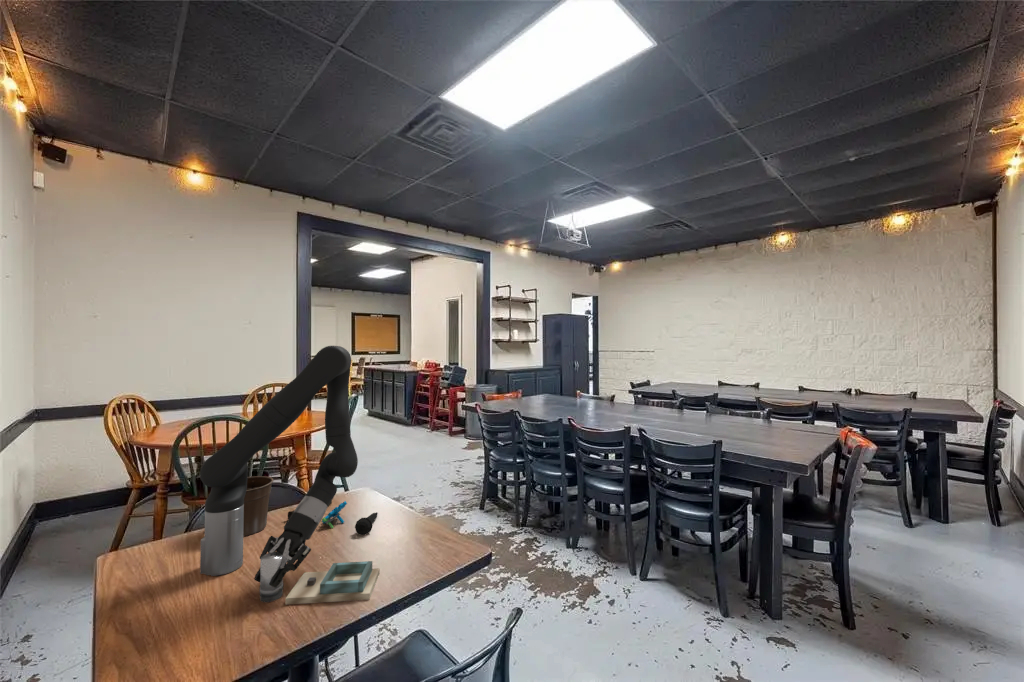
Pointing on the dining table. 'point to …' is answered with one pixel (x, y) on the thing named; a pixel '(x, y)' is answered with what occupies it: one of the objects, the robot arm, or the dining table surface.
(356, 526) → the microphone
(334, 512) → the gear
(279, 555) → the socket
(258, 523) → the plant pot
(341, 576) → the beige board with frame
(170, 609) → the dining table surface
